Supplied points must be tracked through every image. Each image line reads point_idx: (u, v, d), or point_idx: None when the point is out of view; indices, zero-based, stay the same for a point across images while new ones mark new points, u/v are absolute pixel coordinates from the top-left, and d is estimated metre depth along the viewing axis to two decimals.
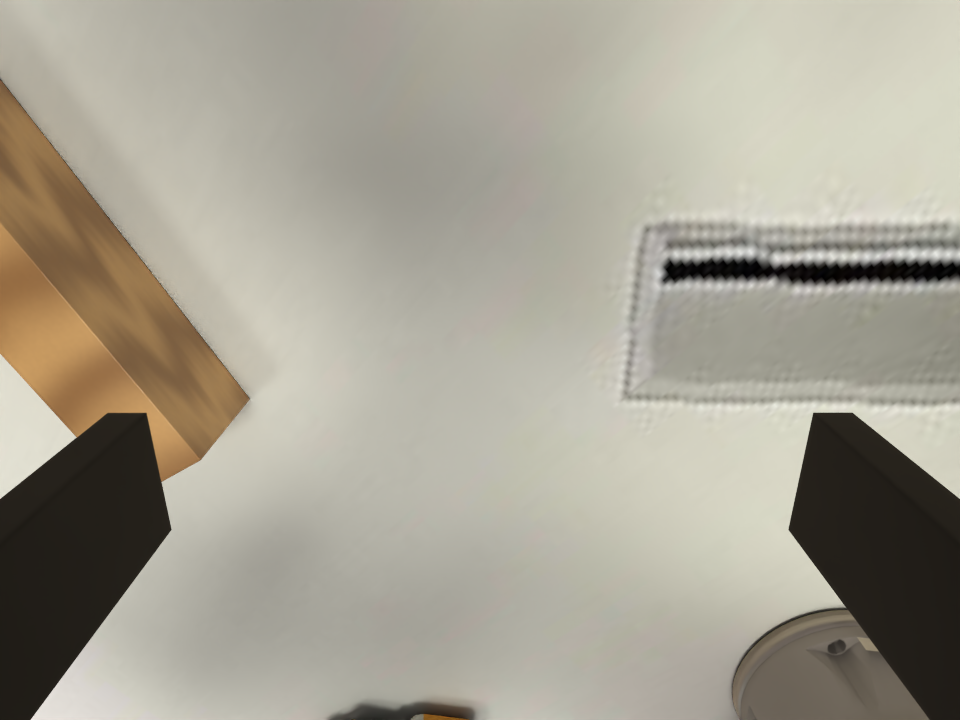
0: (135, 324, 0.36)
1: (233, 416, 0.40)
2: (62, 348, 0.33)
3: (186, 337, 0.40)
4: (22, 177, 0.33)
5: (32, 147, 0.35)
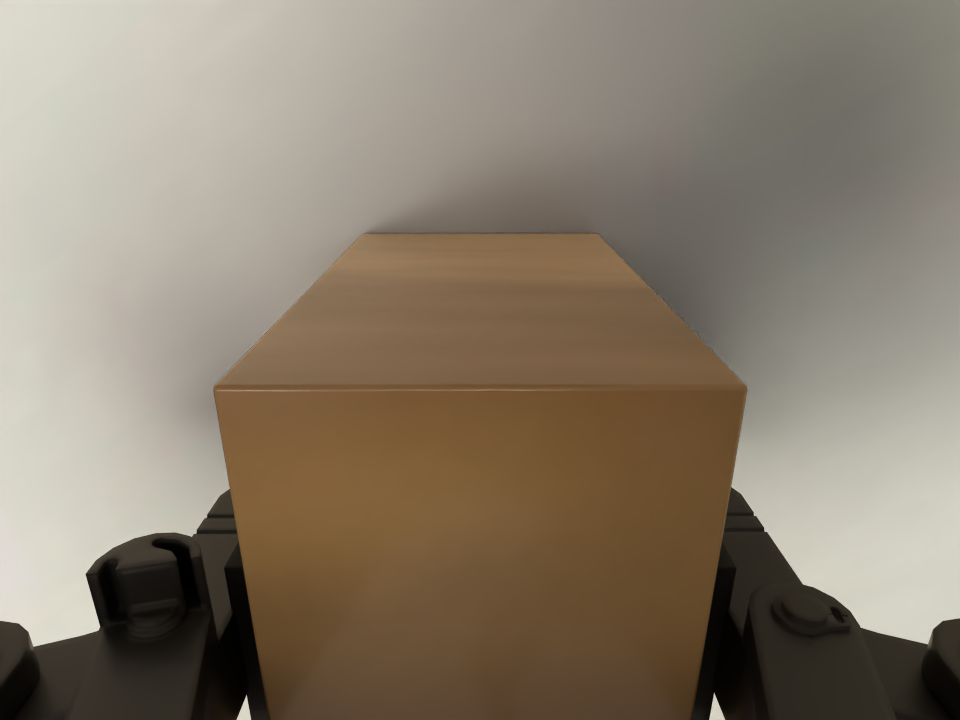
0: None
1: None
2: None
3: None
4: None
5: None
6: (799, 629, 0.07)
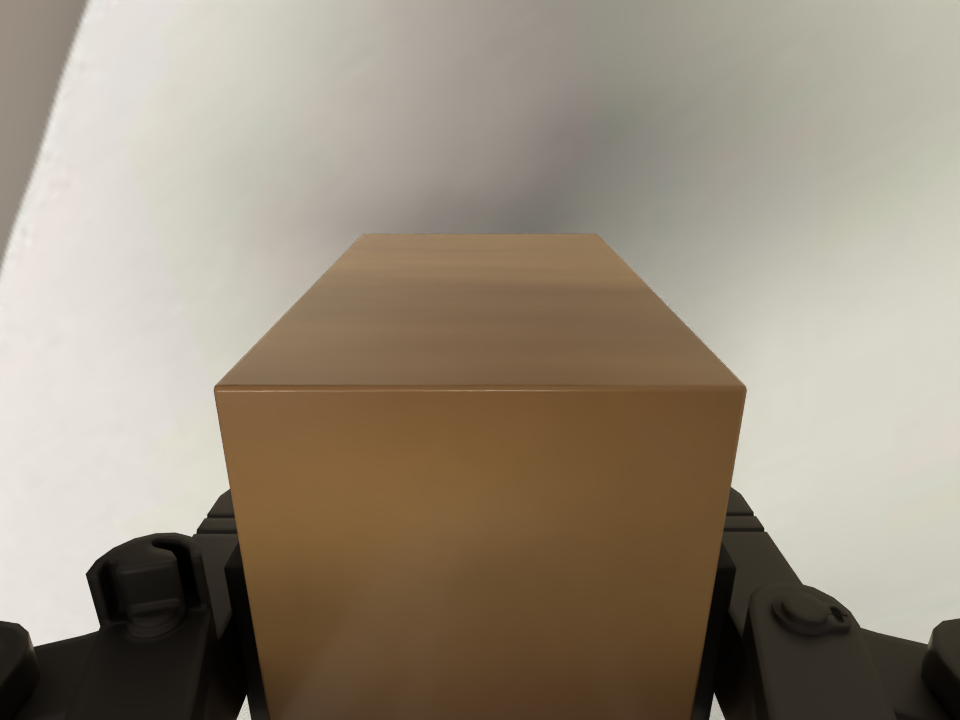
0: None
1: None
2: None
3: None
4: None
5: None
6: (799, 629, 0.07)
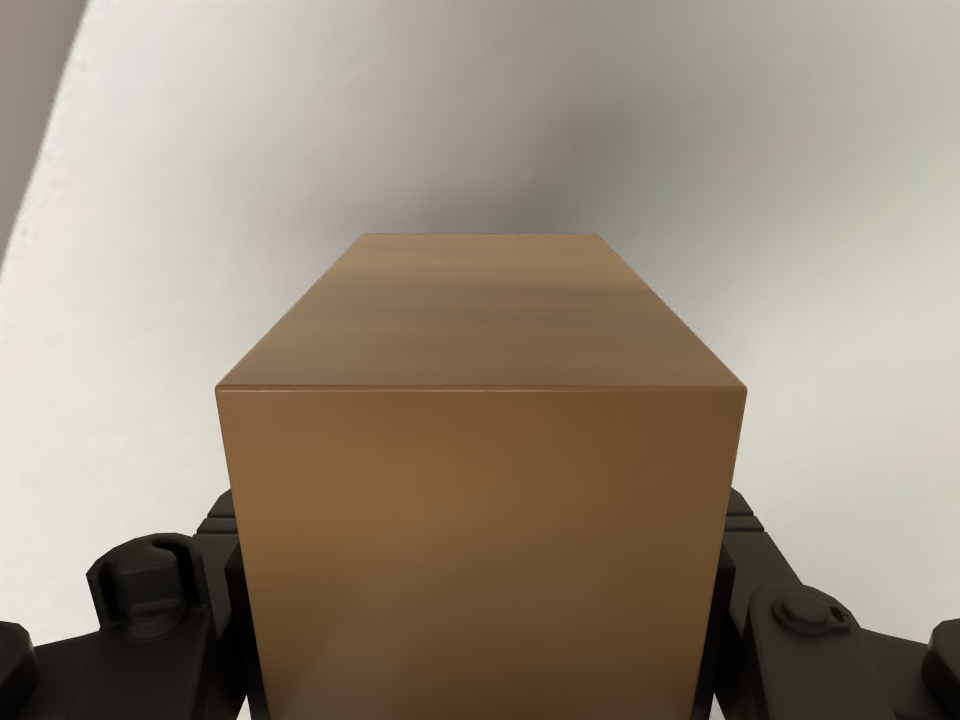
0: None
1: None
2: None
3: None
4: None
5: None
6: (799, 629, 0.07)
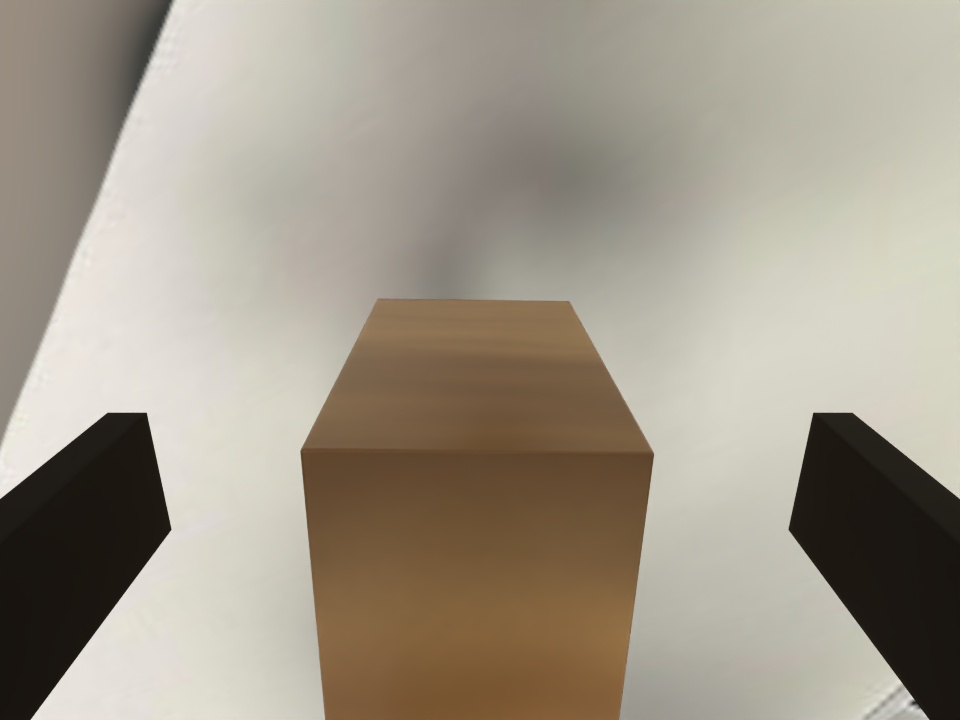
0: None
1: None
2: None
3: None
4: None
5: None
6: None
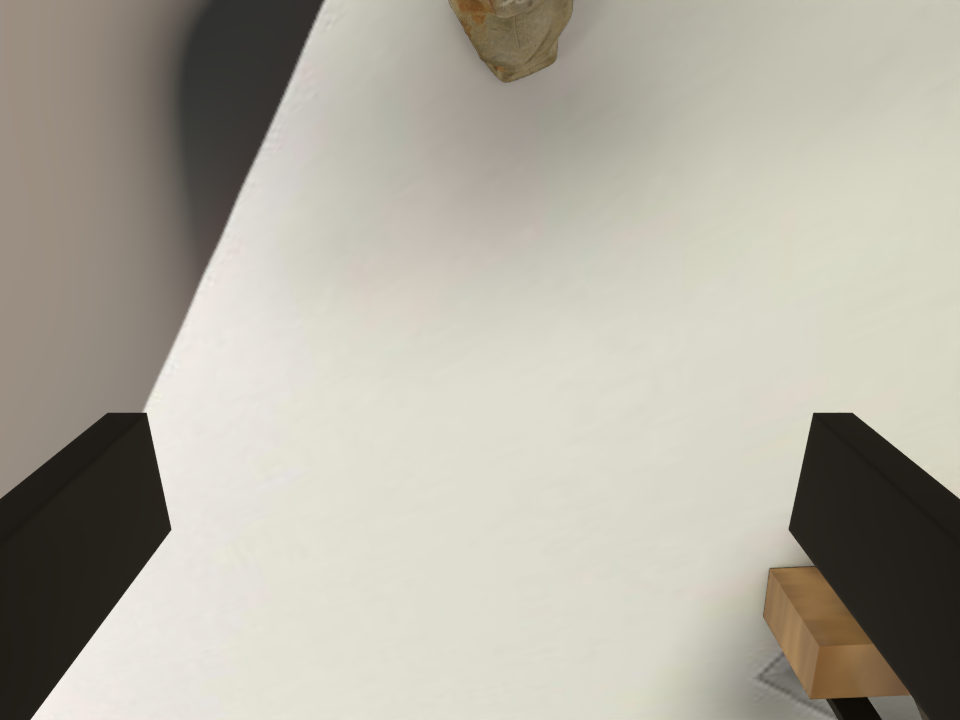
0: None
1: None
2: None
3: None
4: None
5: None
6: None
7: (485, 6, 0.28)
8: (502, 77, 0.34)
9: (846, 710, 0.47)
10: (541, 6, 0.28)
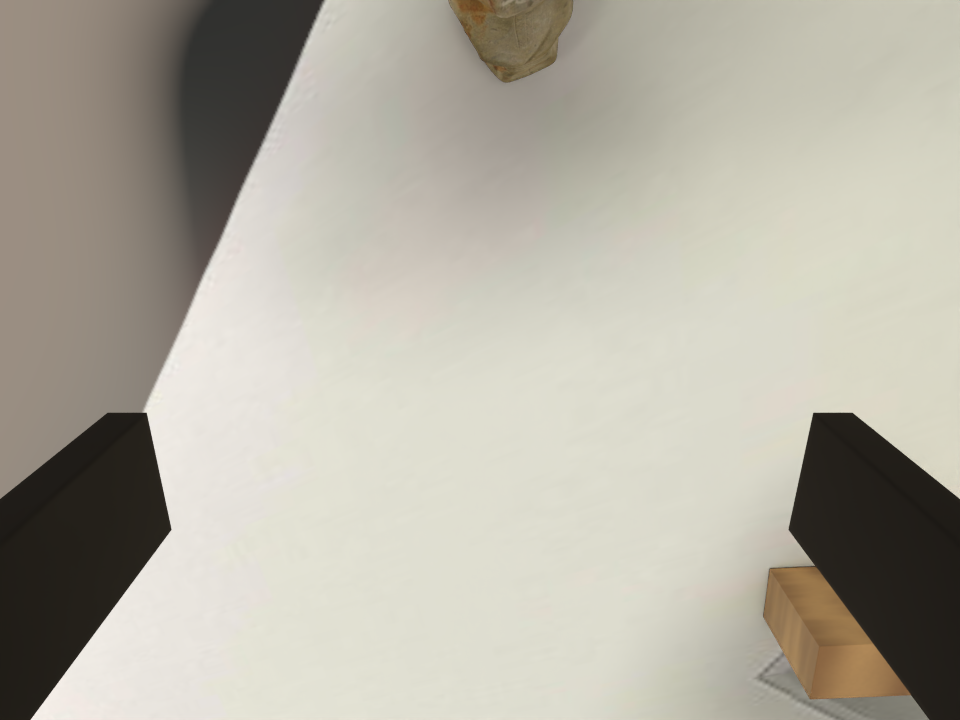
0: None
1: None
2: None
3: None
4: None
5: None
6: None
7: (485, 6, 0.28)
8: (502, 77, 0.34)
9: None
10: (541, 6, 0.28)
